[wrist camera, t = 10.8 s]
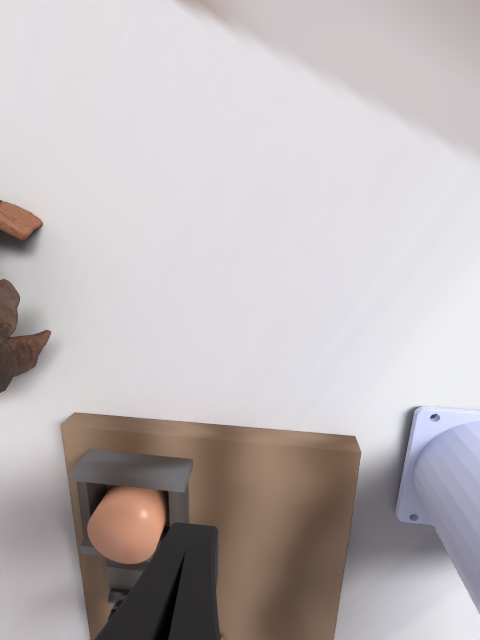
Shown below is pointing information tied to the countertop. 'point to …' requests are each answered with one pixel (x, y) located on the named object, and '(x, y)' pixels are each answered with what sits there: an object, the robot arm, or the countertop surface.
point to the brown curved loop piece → (16, 305)
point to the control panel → (226, 514)
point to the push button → (129, 523)
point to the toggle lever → (116, 598)
